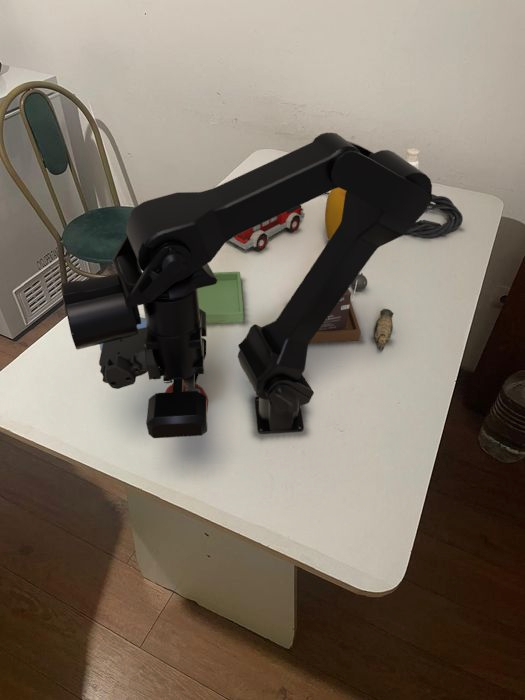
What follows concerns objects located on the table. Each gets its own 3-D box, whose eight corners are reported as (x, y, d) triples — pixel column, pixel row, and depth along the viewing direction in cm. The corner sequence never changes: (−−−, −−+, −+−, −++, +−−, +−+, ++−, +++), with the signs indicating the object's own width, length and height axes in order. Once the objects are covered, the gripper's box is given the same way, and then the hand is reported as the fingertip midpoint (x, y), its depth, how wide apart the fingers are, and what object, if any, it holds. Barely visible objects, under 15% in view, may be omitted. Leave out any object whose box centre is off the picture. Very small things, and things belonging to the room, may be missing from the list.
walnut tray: (359, 340, 86) (360, 331, 84) (298, 343, 85) (299, 334, 84) (346, 302, 93) (348, 293, 92) (291, 305, 93) (291, 295, 91)
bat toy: (343, 312, 91) (347, 291, 88) (355, 265, 102) (359, 245, 98) (360, 315, 91) (364, 294, 87) (370, 268, 101) (374, 247, 98)
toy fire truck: (307, 224, 113) (311, 181, 106) (247, 258, 103) (247, 213, 96) (277, 210, 117) (279, 167, 110) (217, 241, 107) (214, 197, 101)
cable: (462, 215, 117) (467, 198, 114) (456, 247, 107) (462, 228, 104) (386, 202, 121) (390, 184, 118) (375, 231, 111) (378, 213, 108)
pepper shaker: (418, 194, 124) (429, 148, 116) (410, 203, 121) (420, 157, 113) (397, 188, 126) (406, 143, 119) (388, 197, 123) (397, 151, 115)
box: (313, 334, 86) (316, 299, 81) (301, 312, 90) (304, 278, 85) (346, 328, 87) (352, 293, 82) (333, 306, 91) (338, 272, 86)
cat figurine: (392, 322, 89) (396, 307, 85) (386, 360, 84) (391, 346, 81) (376, 320, 89) (379, 305, 86) (369, 357, 85) (373, 343, 81)
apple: (383, 254, 105) (395, 195, 96) (336, 264, 102) (344, 205, 93) (357, 228, 112) (366, 171, 103) (312, 237, 109) (317, 179, 100)
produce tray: (243, 322, 89) (243, 312, 87) (172, 325, 88) (171, 315, 87) (240, 280, 98) (239, 271, 96) (175, 282, 97) (174, 273, 95)
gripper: (108, 271, 61) (130, 363, 72) (81, 388, 48) (113, 480, 59) (202, 268, 62) (209, 360, 73) (201, 382, 49) (211, 473, 59)
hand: (186, 412), depth 66 cm, fingers closed on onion, 6 cm apart
